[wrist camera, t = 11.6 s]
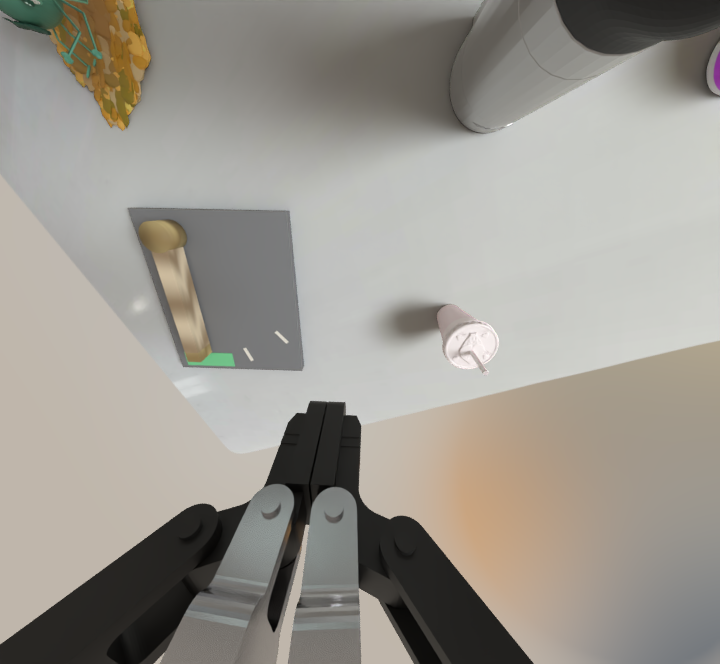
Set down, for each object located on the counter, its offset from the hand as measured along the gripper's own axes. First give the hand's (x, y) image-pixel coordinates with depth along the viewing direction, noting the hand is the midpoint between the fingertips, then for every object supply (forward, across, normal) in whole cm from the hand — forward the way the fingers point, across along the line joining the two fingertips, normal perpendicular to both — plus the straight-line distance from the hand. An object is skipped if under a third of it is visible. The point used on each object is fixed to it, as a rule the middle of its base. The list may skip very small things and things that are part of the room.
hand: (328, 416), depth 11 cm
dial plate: (+28, +19, +5) cm, 34 cm away
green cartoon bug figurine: (+29, +26, -23) cm, 45 cm away
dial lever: (+26, +24, +4) cm, 36 cm away
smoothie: (+28, -14, +7) cm, 32 cm away
